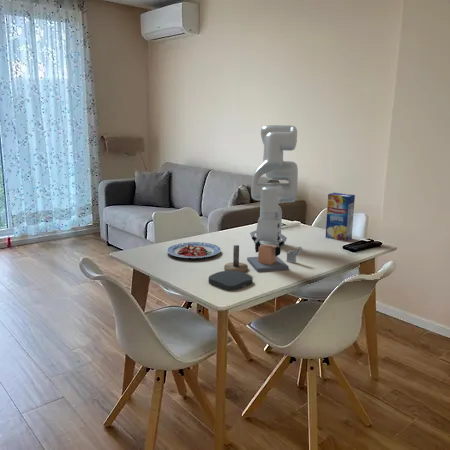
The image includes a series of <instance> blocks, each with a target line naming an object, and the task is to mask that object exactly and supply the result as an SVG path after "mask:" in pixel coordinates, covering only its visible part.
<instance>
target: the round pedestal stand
mask: <svg viewBox="0 0 450 450" xmlns="http://www.w3.org/2000/svg"><path fill="white" fill-rule="evenodd" d="M232 261H233V262H228V263H225V264H224V267H223V268H224V270H223V271H239V272H243V273H246V272H248V270H249V266H248V264H246V263H243V262H240V245H239V244H234V245H233V259H232Z"/></svg>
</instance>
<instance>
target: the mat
mask: <svg viewBox="0 0 450 450" xmlns="http://www.w3.org/2000/svg"><path fill="white" fill-rule="evenodd" d="M246 261H247V262H248V263H249V264H250V266H251V267H253V269H254V270H255V271H256V273H257V272H258V273H260V272H274V271H276V272H277V271H288V270H289V269H290V267H289V265H288V264H287V263H286V262H285V261H283V260H282V259H281V258H280V257H279V256H277V261H276V262H274V263H273V264H271V265H269V264H264V263H259V262H258V256H250V257H249V256H248V257H247V259H246Z"/></svg>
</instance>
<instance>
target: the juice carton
mask: <svg viewBox="0 0 450 450" xmlns="http://www.w3.org/2000/svg"><path fill="white" fill-rule="evenodd" d="M355 198H356V195H355V194H350V193H342V192H332V193H331V192H330V193H328V194H327V206H326V207H327V208H326V223H325V224H326V225H325V238H326V239H332V240H337V241H342V242H347V241H349V240H351V239H352V238H353V228H354V227H353V225H354V224H353V223H354V212H355V211H354V210H355V201H356V200H355Z"/></svg>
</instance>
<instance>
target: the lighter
mask: <svg viewBox="0 0 450 450" xmlns="http://www.w3.org/2000/svg"><path fill="white" fill-rule="evenodd" d="M302 250H303V247H302V246H298V247H297V249H296V251H295V250H290V249H289V251H287V252H286V262H287V263H292V264H296V263H297V257H298V256H299V255H300V253H301V252H302Z"/></svg>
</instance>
